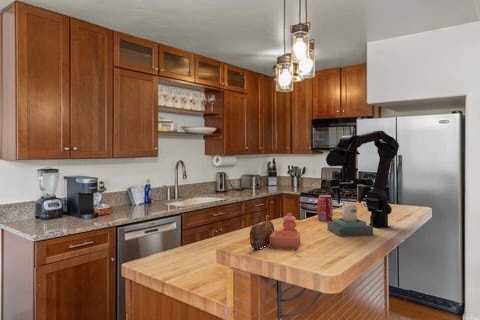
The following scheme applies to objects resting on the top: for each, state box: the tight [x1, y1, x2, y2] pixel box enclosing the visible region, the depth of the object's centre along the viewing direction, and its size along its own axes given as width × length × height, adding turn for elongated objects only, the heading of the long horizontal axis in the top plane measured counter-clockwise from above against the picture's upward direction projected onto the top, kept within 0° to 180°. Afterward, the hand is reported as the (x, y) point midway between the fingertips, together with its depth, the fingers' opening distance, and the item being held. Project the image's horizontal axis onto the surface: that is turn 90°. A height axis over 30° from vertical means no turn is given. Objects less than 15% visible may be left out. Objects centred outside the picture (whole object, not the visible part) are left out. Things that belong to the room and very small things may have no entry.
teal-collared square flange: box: [327, 217, 374, 237], centre depth 138 cm, size 14×12×5 cm
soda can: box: [317, 194, 334, 222], centre depth 164 cm, size 7×7×12 cm
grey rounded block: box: [342, 204, 358, 222], centre depth 137 cm, size 6×7×8 cm
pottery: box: [269, 212, 301, 250], centre depth 124 cm, size 18×10×10 cm, turn 162°
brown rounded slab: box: [249, 220, 275, 250], centre depth 119 cm, size 15×3×8 cm, turn 149°
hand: (349, 203), depth 139 cm, fingers open, 9 cm apart
